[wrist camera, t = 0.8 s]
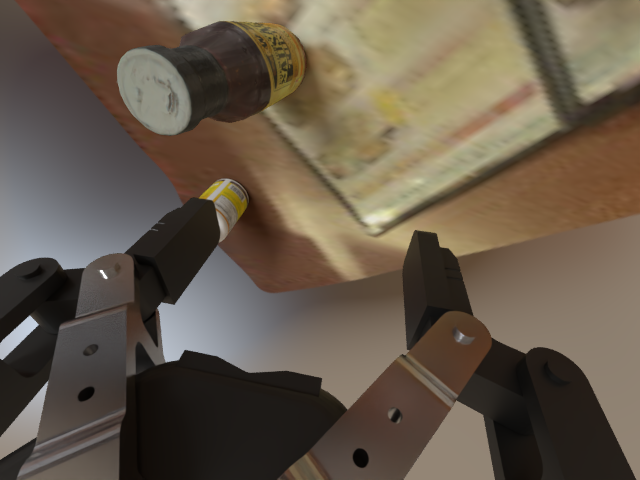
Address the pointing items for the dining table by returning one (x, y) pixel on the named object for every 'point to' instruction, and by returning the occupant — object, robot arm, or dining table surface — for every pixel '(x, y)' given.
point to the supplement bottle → (227, 203)
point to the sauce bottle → (211, 75)
